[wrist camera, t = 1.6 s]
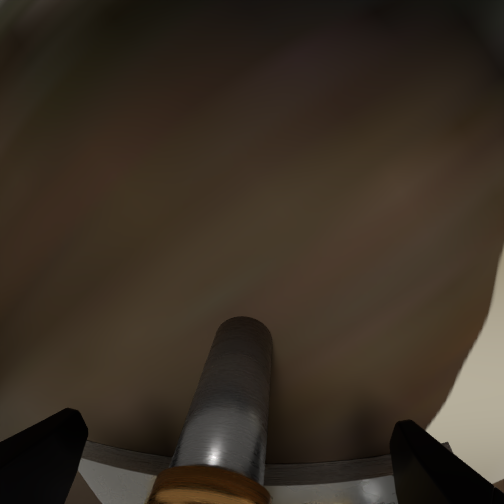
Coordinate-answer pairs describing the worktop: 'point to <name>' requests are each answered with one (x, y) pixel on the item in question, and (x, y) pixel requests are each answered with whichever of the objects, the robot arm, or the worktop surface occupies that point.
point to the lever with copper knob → (224, 424)
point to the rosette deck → (275, 478)
